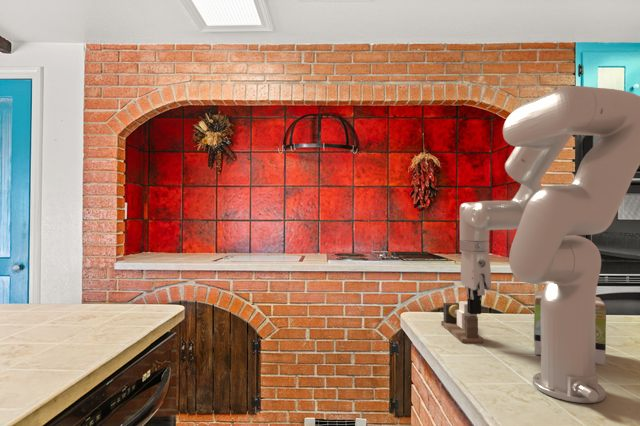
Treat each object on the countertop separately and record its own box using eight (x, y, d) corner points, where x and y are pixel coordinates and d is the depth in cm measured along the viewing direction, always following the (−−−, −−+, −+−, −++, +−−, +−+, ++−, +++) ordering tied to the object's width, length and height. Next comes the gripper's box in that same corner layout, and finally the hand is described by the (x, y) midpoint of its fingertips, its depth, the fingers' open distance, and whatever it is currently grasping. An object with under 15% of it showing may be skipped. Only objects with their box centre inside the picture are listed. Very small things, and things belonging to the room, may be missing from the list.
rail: (483, 342, 111) (483, 316, 111) (462, 342, 111) (462, 316, 111) (459, 324, 129) (459, 301, 129) (441, 324, 129) (441, 302, 129)
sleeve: (477, 328, 113) (477, 304, 113) (461, 328, 113) (461, 304, 113) (471, 324, 117) (471, 301, 117) (456, 324, 117) (456, 301, 117)
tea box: (534, 355, 101) (534, 297, 101) (533, 344, 109) (533, 290, 109) (606, 366, 94) (606, 303, 94) (600, 352, 102) (599, 295, 102)
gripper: (500, 249, 102) (500, 320, 102) (476, 244, 117) (476, 306, 117) (471, 249, 102) (471, 321, 102) (451, 244, 117) (451, 307, 117)
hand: (474, 313), depth 110 cm, fingers closed
